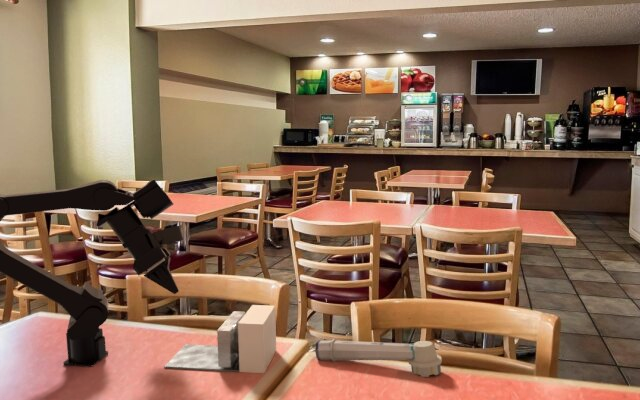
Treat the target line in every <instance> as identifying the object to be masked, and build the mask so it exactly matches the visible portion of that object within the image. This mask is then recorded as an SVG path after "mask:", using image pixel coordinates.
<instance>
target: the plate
mask: <svg viewBox="0 0 640 400" xmlns="http://www.w3.org/2000/svg"><path fill="white" fill-rule="evenodd" d="M163 367H164V369H170V370H171V369H175V370H188V371H189V370H190V371H191V370H192V371H206V372H207V371H212V372H214V371H215V372H230V373H241V372H240V370H239V356H238V357H237V359H236V360H235V362H234V363H233V365H232V366H231V367H219V366H218V345H213V344H212V345H211V344H210V345H209V344H190V343H185V344H184V345H183V346H182V347H181V348H180V349H179V350H178V352H176V354H174V356H173V357H171V359H170V360H169V361H168V362H167V363H166V364H165V365H164V366H163Z"/></svg>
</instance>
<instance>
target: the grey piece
mask: <svg viewBox="0 0 640 400" xmlns="http://www.w3.org/2000/svg"><path fill="white" fill-rule="evenodd" d="M245 314H246V312H245V311H239V310H238V311H232V313H230V315H229V316H228V317H227V319H226V320H225V321H224V322H223V323H222V324H221V326H219V328H218V329H217V330H216V334H217V335H216V336H217V338H216V339H217V346H218V366H219V367H231V366H232V365H233V363H234V362H235V360H236V359H237V357H238V356H239V339H238V323H239V321H240V320H241V319H242V318H243V316H244V315H245Z"/></svg>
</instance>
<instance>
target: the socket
mask: <svg viewBox="0 0 640 400" xmlns="http://www.w3.org/2000/svg"><path fill="white" fill-rule="evenodd" d="M276 326H277V324H276V305H267V304H266V305H261V304H251V306H250V308H249V309H248V310H247V311H246V312H245V315H244V316H243V318H242V319H241V320H240V321H239V323H238V339H239V370H240V372H239V373H249V374H250V373H253V374H265V373H266V371H267V369H268V367H269V366H270V363H271V362H272V360H273V358H274V355H275V353H276V351H277V334H276V333H277V330H276V329H277V328H276Z"/></svg>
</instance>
